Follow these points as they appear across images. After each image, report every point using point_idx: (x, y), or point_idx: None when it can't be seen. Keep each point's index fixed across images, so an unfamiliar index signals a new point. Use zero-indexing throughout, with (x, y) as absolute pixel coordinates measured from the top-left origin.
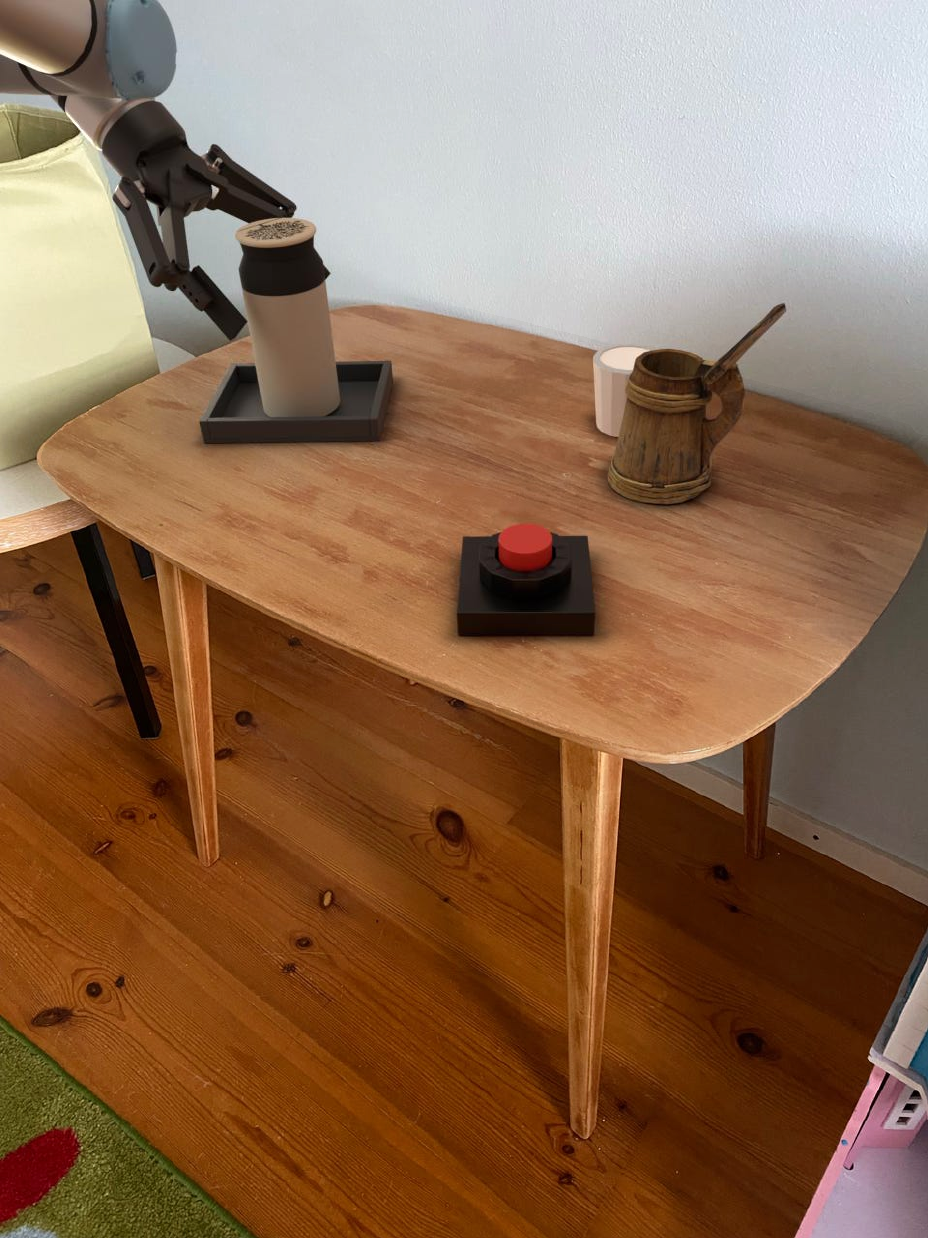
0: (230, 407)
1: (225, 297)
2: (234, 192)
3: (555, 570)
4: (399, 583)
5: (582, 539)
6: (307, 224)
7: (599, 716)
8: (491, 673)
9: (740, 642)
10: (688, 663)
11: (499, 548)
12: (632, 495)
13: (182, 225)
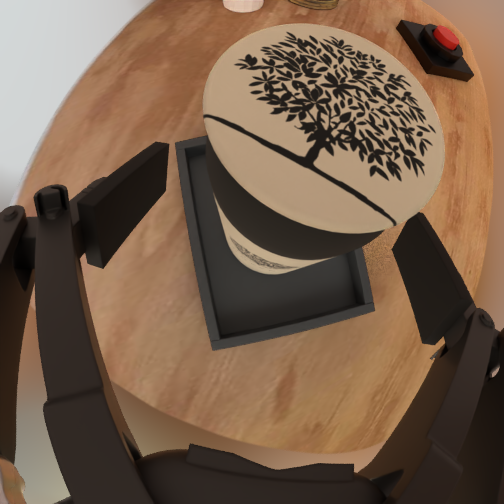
0: (288, 316)
1: (434, 240)
2: (77, 362)
3: None
4: (456, 103)
5: (405, 21)
6: (270, 38)
7: (466, 48)
8: (473, 73)
9: (412, 4)
10: (431, 19)
11: (455, 46)
12: (337, 3)
13: (452, 396)
